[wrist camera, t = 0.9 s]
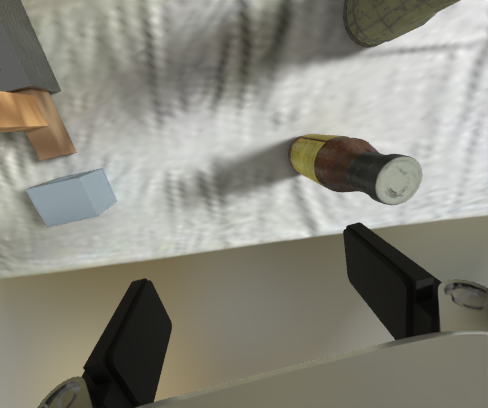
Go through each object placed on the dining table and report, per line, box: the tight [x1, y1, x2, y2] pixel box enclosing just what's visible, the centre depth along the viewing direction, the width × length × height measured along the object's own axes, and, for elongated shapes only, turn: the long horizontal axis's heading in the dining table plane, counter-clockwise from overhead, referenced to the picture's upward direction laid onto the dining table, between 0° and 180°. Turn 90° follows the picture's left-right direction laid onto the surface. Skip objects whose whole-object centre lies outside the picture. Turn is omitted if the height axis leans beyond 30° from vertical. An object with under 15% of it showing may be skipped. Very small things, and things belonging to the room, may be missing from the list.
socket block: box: [26, 168, 117, 227], centre depth 33 cm, size 6×7×6 cm
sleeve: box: [0, 0, 61, 94], centre depth 26 cm, size 11×5×5 cm, turn 12°
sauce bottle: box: [289, 134, 422, 205], centre depth 27 cm, size 6×6×20 cm
